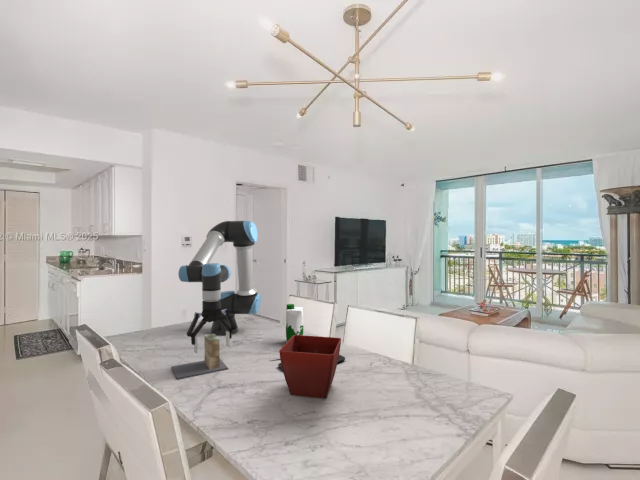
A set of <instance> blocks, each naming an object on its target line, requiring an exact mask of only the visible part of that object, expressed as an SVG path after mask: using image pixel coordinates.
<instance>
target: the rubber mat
mask: <svg viewBox="0 0 640 480" xmlns="http://www.w3.org/2000/svg"><path fill="white" fill-rule="evenodd" d="M170 368H171V370H172V372H173V374H174V377H175V379H176V380H182V379H188V378H191V377H197V376H200V375H201V376H202V375H206V374H207V375H208V374H211V373H217V372H220V371H226V370H229V367H228V366H227V364H226V363H224V361H223V360H222V359H221V358H220V367H218V368H213V369H209V367H208V366H207V365H206V364H205V359H204V360H199V361H194V362H189V363H184V364H183V363H182V364H178V365H171V367H170Z"/></svg>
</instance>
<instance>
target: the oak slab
mask: <svg viewBox="0 0 640 480" xmlns="http://www.w3.org/2000/svg"><path fill="white" fill-rule="evenodd" d="M203 336H204V360H205V364H206V365H207V366H208V367H209V369H213V368H218V367H220V359H221V358H220V355H221V354H220V338H219V337H218V335H215V334H211V333H208V334H204V335H203Z"/></svg>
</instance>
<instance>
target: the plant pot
mask: <svg viewBox="0 0 640 480" xmlns="http://www.w3.org/2000/svg"><path fill="white" fill-rule="evenodd" d="M341 342H342V338H341V337H330V336H318V335H317V336H316V335H315V336H314V335H304V334H303V335H293V336H292V337H291V338H290V339H289V341H288V342H287V341H286V343H284V345H282V347H281V348H280V349H279V351H278V352H279V359H280V360H279V361H280V363H281V365H282V368H281V370H282V372H283V375H284V380H285V383H286V385H287V390H288V392H289V394H290V396H294V397H303V398H313V399H321V400H324V399H326V398H327V397H328V394H329V392H330V389H331V387H332V384H333V381H334V378H335V374H336V371H337V366H338V363H339V362H338V358H339V355H340V352H341V345H342V343H341Z"/></svg>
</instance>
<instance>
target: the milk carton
mask: <svg viewBox="0 0 640 480" xmlns="http://www.w3.org/2000/svg"><path fill="white" fill-rule="evenodd" d="M303 309H304V307H298V306H295V304H294V303H288V304H286V310H285V339H286V340H285V341H286V343H287V342H288V341H289V339H290V338H291V337H292V336H293V335H304V311H303Z"/></svg>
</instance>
